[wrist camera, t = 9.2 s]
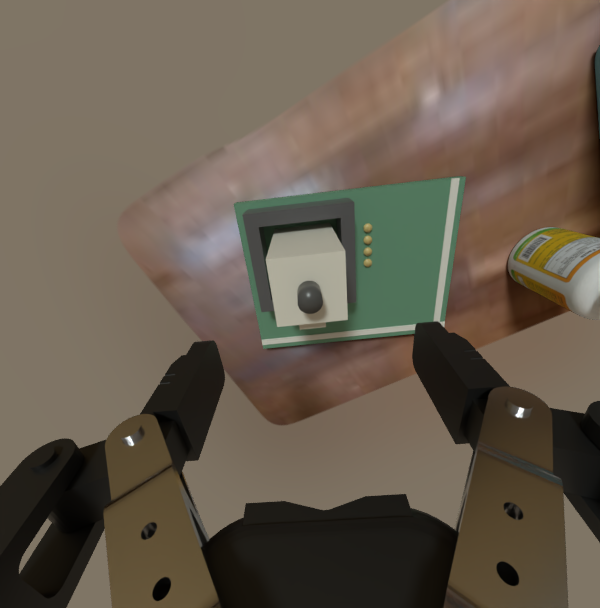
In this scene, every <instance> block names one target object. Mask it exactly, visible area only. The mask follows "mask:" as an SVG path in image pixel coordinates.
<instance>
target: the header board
mask: <svg viewBox="0 0 600 608" xmlns="http://www.w3.org/2000/svg"><path fill="white" fill-rule="evenodd" d="M465 179H466V177H461V176H457V177H449V178H440V179H432V180H423V181H415V182H407V183H398V184H390V185H381V186H373V187H364V188H356V189H347V190H339V191H330V192H322V193H313V194H305V195H296V196H288V197H279V198H271V199H262V200H254V201H245V202H237V203H235V204H234V208H235V212H236V217H237V222H238V227H239V232H240V237H241V242H242V246H243V251H244V256H245V261H246V266H247V271H248V276H249V280H250V285H251V290H252V295H253V300H254V305H255V309H256V314H257V319H258V324H259V329H260V334H261V339H262V344H263V348H264V349H265V348H275V347H285V346H296V345H306V344H316V343H326V342H336V341H346V340H356V339H366V338H376V337H386V336H396V335H407V334H415V326H416V324H417V323H422V322H433V321H438V322H440V323H441V325H442V326H443V327H444V324H445V314H446V307H447V301H448V294H449V287H450V281H451V274H452V267H453V260H454V254H455V247H456V240H457V233H458V227H459V220H460V213H461V206H462V200H463V193H464V186H465ZM341 198H350V199H351V200H353V201H354V207H355V261H356V303H347V311H348V320H342V321H332V322H326V327H322V328H312V329H302V330H300V328H299V325H293V326H283V327H277V323H276V317H275V311H269V312H261V308H260V302H259V297H258V292H257V287H256V282H255V277H254V272H253V267H252V262H251V257H250V252H249V246H248V241H247V236H246V231H245V226H244V221H243V216H242V214H243V213H244V212H245V211H246V210H247V209H255V208H264V207H272V206H281V205H289V204H298V203H306V202H315V201H324V200H332V199H341ZM324 223H330V225H331V226H332V228H333V230H334V232H335V233H336V235H337V218H335V219H326V220H318V221H309V222H300V223H291V224H283V225H274V226H265V227H263V229H264V235H265V241H266V247H267V253H268V250H269V247H270V243H271V240H272V237H273V233H274V230H275V229H280V228H289V227H298V226H306V225H315V224H324ZM367 223H369V224H371V225H372V230H371V231H370V232H365V231H364V230H363V226H364V225H365V224H367ZM367 235H369V236H371V238H372V242H371V243H370V244H365V243H364V241H363V239H364V237H365V236H367ZM366 247H369V248H371V249H372V254H371V255H369V256H366V255H365V254H364V253H363V250H364V249H365V248H366ZM367 258H368V259H370V260H371V261H372V265H371V266H369V267H366V266H365V265H364V264H363V262H364V260H365V259H367Z"/></svg>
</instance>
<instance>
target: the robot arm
mask: <svg viewBox="0 0 600 608" xmlns="http://www.w3.org/2000/svg"><path fill="white" fill-rule="evenodd" d="M412 358H413V365H414V368H415V371H416V372H417V374H418V376H419V378H420V380H421V382H422V383H423V385H424V387H425V389H426V391H427V393H428V394H429V396H430V398H431V400H432V402H433V403H434V405H435V407H436V409H437V411H438V413H439V414H440V416H441V418H442V420H443V422H444V424H445V425H446V427H447V429H448V431H449V433H450V435H451V436H452V438H453V440H454V442H455V444H465V443H470V445H471V447H472V449H473V455H472V458H471V462H470V466H469V471H468V475H467V479H466V484H465V488H464V492H463V496H462V501H461V505H460V509H459V513H458V517H457V521H456V525H455V529H453V528H452V527H450V526H449V525H447V524H446V523H444V522H442V521H440V520H439V519H437V518H435V517H433V516H431V515H429V514H427V513H424V512H422V511H419V510H416V509H412V508H410V506H409V502H408V499H407V496H406V494H399V495H382V496H366V497H363V498H360V499H357V500H355V501H352V502H349V503H346V504H344V505H341V506H338V507H335V508H333V509H330V510H319V509H315V508H310V507H306V506H302V505H298V504H294V503H290V502H286V501H281V502H263V503H246V507H245V512H244V518H241V519H239V520H237V521H235V522H233V523H231V524H229V525H228V526H227V527H225V528H223V529H222V530H220V531H219V532H218V533H217V534H216V535H214V536H213V537H212V538H211V539H209V537H208V535H207V532H206V530H205V528H204V525H203V523H202V521H201V518H200V515H199V513H198V510H197V508H196V505H195V503H194V500H193V497H192V495H191V492H190V490H189V487H188V485H187V482H186V479H185V477H184V474H183V472H182V469H183V467H184V464H185V461H195V460H198V459H199V457H200V454H201V451H202V448H203V445H204V442H205V439H206V436H207V433H208V430H209V427H210V424H211V421H212V418H213V416H214V413H215V410H216V407H217V404H218V401H219V398H220V395H221V392H222V389H223V386H224V381H225V374H224V369H223V365H222V362H221V358H220V355H219V352H218V348H217V345H216V343H215V341H201V342H194V343H193V344H192V346H191V348H190V350H189V351H188V353H187V355H183V356H181V357H180V358H178V359H177V360H176V361H175V362H174V363H173V364H171V366H170V368H169V369H168V371H167V373H166V374H165V376H164V377H163V379H162V380H161V382H160V385H158V387H157V388H156V390H155V391H154V393H153V394H152V396H151V398H150V399H149V401H148V402H147V404H146V406H145V407H144V409H143V410H142V412H141V413H140V415H137V416H133V417H131V418H129V419H127V420H125V421H123V422H122V423H121V424H119V425H118V426H117V427H116V428H115V429H114V430H113V431H112V432H111V433H110V435H109V436H108V438H107V440H104V441H101V442H98V443H95V444H92V445H89V446H86V447H83V448H80V449H79V448H78V447H77V445H76V444H75V443H74V441H73V440H71V439H59V440H55V441H53V442H50V443H48V444H46V445H44V446H42V447H40V448H38V449H37V450H35V451H34V452H32V453H31V454H30V455H29V456H27V457H26V458H25V459H24V460H23V461H22V462H21V463H20V464H19V465H18V467H17V468H16V469H15V470H14V471H13V472H12V473H11V475H10V476H9V477H8V478H7V479H6V480H5V481H4V483H3V484H2V485H1V486H0V608H66V607H67V605H68V603H69V601H70V599H71V597H72V595H73V593H74V591H75V589H76V586H77V585H78V582H79V580H80V578H81V576H82V574H83V572H84V570H85V568H86V566H87V564H88V562H89V560H90V558H91V556H92V554H93V551H94V549H95V547H96V545H97V543H98V541H99V539H100V537H101V535H102V533H103V531H104V529H105V535H106V536H105V537H106V547H107V558H108V569H109V579H110V590H111V601H112V608H568V590H567V565H566V545H565V544H566V542H565V520H564V496H563V493H564V494H565V495H566V497H567V498H568V499H569V501H570V502H571V504H572V505H573V506H574V508H575V509H576V510H577V512H578V513H579V515H580V516H581V517H582V519H583V520H584V521H585V523H586V524H587V526H588V527H589V528H590V530H591V531H592V532H593V534H594V535H595V536H596V538H597V539H598V541H599V542H600V401H597V402H593V403H592V404H590V405H589V407H588V409H587V411H586V413H585V414H583V413H577V412H571V411H564V410H559V409H553V408H549V407H548V405H547V404H546V403H545V402H544V401H542V400H541V399H540V398H538V397H537V396H535V395H533V394H532V393H530V392H527V391H525V390H522V389H519V388H514V387H510V386H509V385H508V384H507V383H506V382H505V381H504V380H503V379H502V377H501V376H500V375H499V374H498V373H497V372H496V371H495V370H494V369H493V368H492V366H491V365H490V364H489V363H488V362H487V361H486V360H485V359H483V357H482V356H481V355H480V354H479V353H478V351H476V350H475V348H474V347H473V346H472V345H471V344H470V343H469V342H468V341H467V340H466V339H464V338H462V337H461V336H459V335H457V334H456V333H448V332H447V330H446V329H445V328H444V327H443V326H442V325H441V323H440V322H438V321H433V322H422V323H417V324H416V326H415V334H414V344H413V354H412ZM47 518H48V519H49V520H50V521H51V522H52V524H51V525H50V527H49V528H48V530H47V532H46V533H45V535H44V536H43V538H42V539H41V541H40V543H39V544H38V546H37V547H36V549H35V550H34V552H33V554H32V555H31V557H30V558H29V560H28V561H27V563H26V565H25V566H24V568H23V570H22V571H21V573H20V574H19V565H20V561H21V559H22V556H23V554H24V553H25V551H26V549H27V548H28V546H29V545H30V543H31V542H32V540H33V538H34V537H35V535H36V534H37V532H38V531H39V530H40V528H41V526H42V525H43V523H44V522H45V521H46V519H47Z"/></svg>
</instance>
